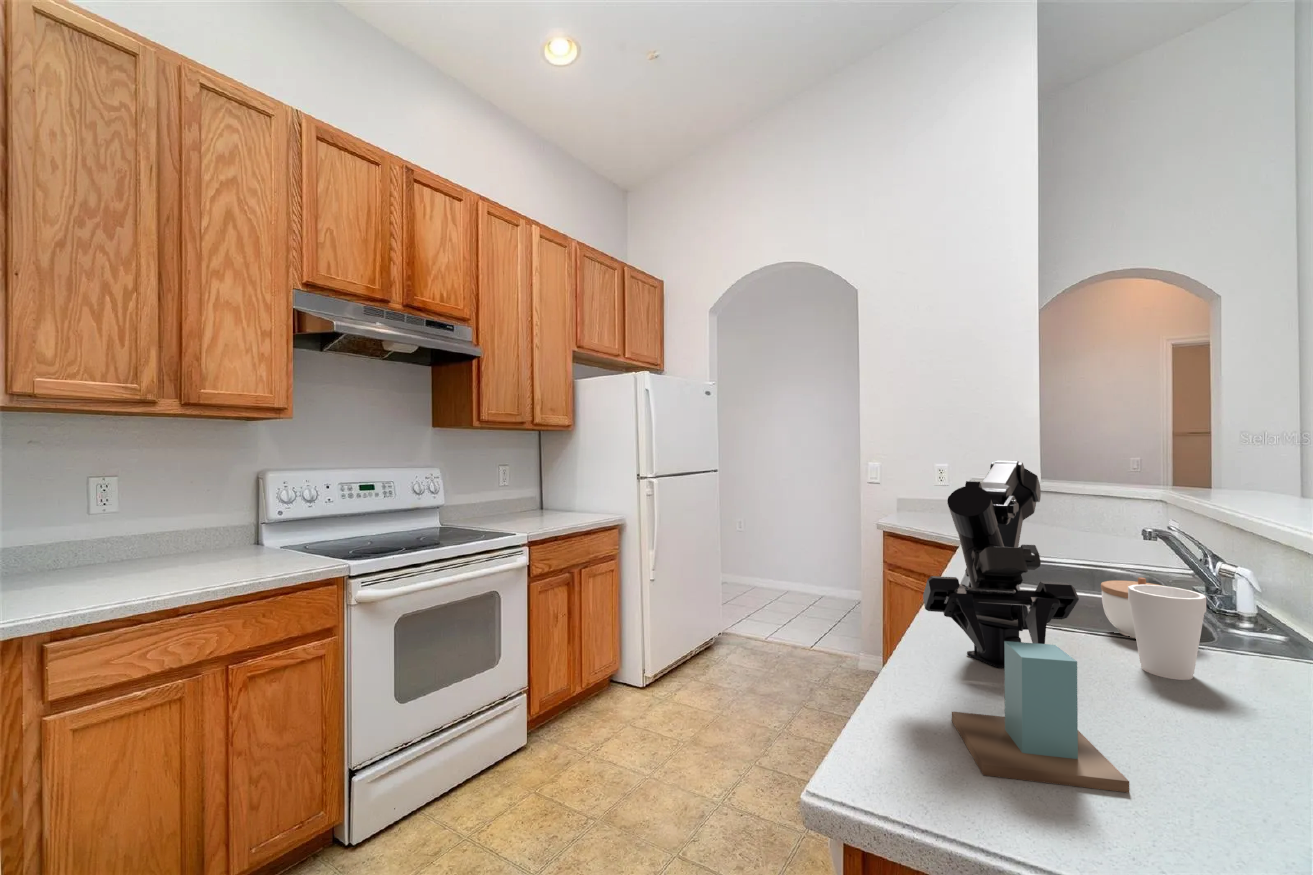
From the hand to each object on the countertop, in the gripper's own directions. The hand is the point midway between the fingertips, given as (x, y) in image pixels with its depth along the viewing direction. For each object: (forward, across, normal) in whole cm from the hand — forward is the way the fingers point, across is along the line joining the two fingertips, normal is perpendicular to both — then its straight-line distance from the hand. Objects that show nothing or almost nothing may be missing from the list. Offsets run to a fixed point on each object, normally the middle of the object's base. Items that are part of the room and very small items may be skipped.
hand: (1012, 653), depth 77 cm
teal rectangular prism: (+12, 0, -1) cm, 12 cm away
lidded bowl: (-25, +37, +38) cm, 58 cm away
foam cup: (-10, +30, +23) cm, 40 cm away
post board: (+12, 0, 0) cm, 12 cm away
